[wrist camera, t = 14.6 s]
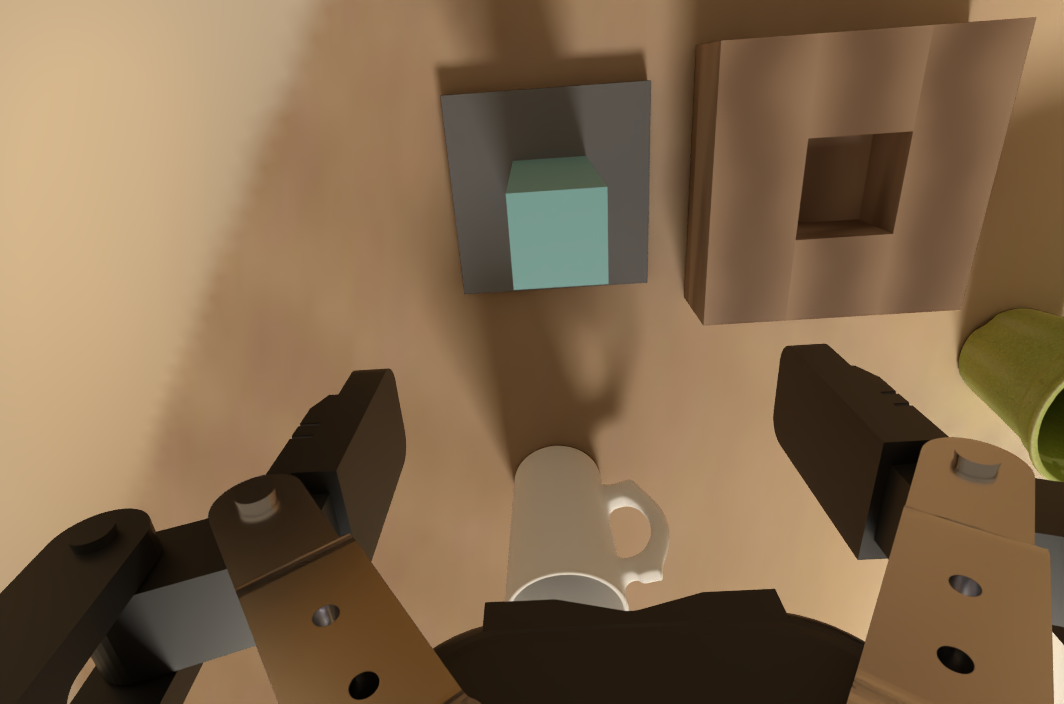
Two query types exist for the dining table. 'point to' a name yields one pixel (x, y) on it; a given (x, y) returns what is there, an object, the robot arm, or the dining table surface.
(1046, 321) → the plant pot
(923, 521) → the robot arm
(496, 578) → the dining table surface
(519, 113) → the mat
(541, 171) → the peg
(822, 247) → the pocket block
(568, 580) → the mug
